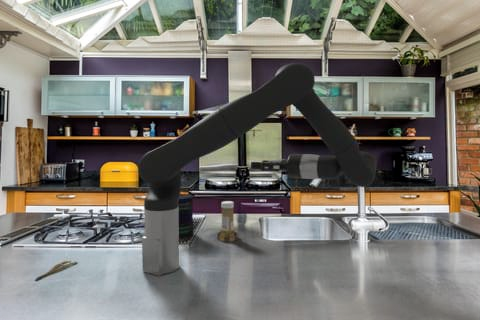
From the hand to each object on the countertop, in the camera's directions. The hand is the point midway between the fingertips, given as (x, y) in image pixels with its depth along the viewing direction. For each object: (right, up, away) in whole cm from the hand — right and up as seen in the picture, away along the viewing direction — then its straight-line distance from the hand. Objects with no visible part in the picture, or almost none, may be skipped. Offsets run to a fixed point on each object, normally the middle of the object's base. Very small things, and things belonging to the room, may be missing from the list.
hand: (257, 164), depth 101 cm
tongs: (-56, -30, -17) cm, 66 cm away
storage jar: (-28, -27, +15) cm, 42 cm away
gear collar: (-10, -27, +11) cm, 31 cm away
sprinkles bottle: (-10, -28, +11) cm, 31 cm away
